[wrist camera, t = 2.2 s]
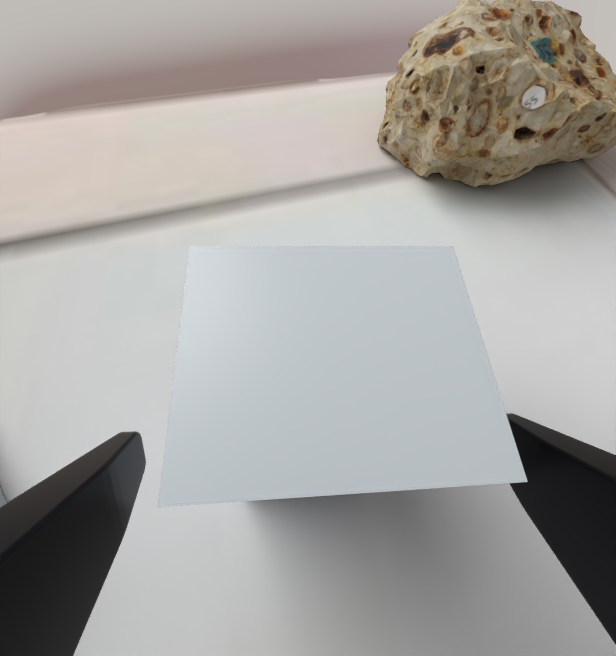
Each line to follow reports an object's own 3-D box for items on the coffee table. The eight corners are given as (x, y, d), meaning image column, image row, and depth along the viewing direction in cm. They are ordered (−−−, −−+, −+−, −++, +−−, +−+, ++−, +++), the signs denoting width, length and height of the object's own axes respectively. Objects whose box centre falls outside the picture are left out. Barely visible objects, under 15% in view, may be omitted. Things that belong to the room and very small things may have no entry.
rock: (501, 81, 36) (602, -38, 26) (567, 195, 34) (703, 107, 24) (339, 94, 29) (399, -64, 19) (410, 238, 26) (515, 139, 17)
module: (365, 486, 16) (527, 481, 6) (242, 494, 16) (157, 507, 5) (352, 377, 19) (446, 226, 8) (245, 381, 18) (191, 225, 7)
